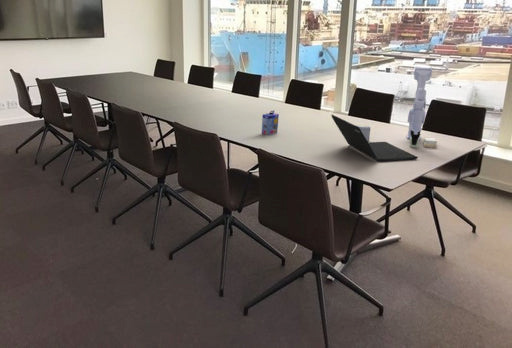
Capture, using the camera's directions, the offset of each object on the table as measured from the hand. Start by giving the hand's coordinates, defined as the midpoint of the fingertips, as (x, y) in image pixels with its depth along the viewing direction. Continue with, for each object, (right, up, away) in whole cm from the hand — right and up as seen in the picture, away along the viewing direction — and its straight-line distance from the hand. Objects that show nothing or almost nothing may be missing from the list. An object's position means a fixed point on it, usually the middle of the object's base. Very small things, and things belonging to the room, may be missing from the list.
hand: (413, 143), depth 279 cm
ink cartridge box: (-84, +8, +19) cm, 86 cm away
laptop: (-29, -6, -15) cm, 33 cm away
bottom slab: (+10, -1, +3) cm, 11 cm away
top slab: (+10, +1, +2) cm, 10 cm away
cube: (0, -1, 0) cm, 1 cm away
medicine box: (-28, +3, +10) cm, 30 cm away
